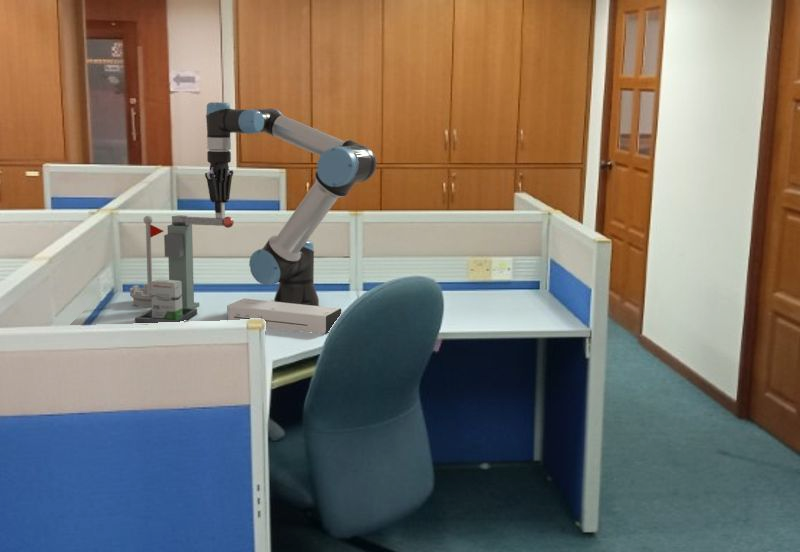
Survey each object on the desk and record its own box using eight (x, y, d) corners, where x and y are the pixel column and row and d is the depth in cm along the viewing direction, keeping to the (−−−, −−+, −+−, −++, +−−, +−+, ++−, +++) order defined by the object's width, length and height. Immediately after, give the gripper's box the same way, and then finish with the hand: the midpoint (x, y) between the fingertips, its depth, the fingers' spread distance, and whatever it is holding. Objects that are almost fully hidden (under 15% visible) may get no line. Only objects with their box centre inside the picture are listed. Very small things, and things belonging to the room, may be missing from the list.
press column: (199, 306, 311) (197, 223, 306) (186, 313, 301) (184, 228, 295) (174, 304, 313) (171, 222, 307) (160, 312, 302) (158, 227, 296)
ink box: (183, 316, 295) (182, 280, 292) (175, 320, 290) (174, 283, 288) (159, 314, 297) (158, 278, 295) (151, 317, 293) (149, 280, 290)
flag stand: (126, 307, 307) (122, 218, 301) (135, 298, 320) (133, 212, 314) (165, 308, 308) (163, 219, 302) (173, 299, 321) (171, 213, 314)
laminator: (227, 324, 290) (227, 305, 289) (246, 316, 301) (246, 297, 300) (326, 336, 279) (326, 316, 277) (342, 326, 290) (342, 307, 289)
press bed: (197, 314, 300) (197, 308, 300) (177, 326, 285) (177, 320, 284) (156, 311, 302) (156, 306, 302) (135, 323, 287) (134, 318, 286)
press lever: (169, 226, 301) (169, 215, 300) (175, 224, 305) (175, 213, 305) (230, 229, 297) (230, 217, 297) (236, 226, 302) (235, 215, 302)
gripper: (221, 148, 309) (222, 218, 313) (197, 150, 297) (199, 223, 302) (239, 149, 306) (240, 220, 310) (216, 152, 294) (218, 225, 299)
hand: (220, 222), depth 306 cm, fingers closed
